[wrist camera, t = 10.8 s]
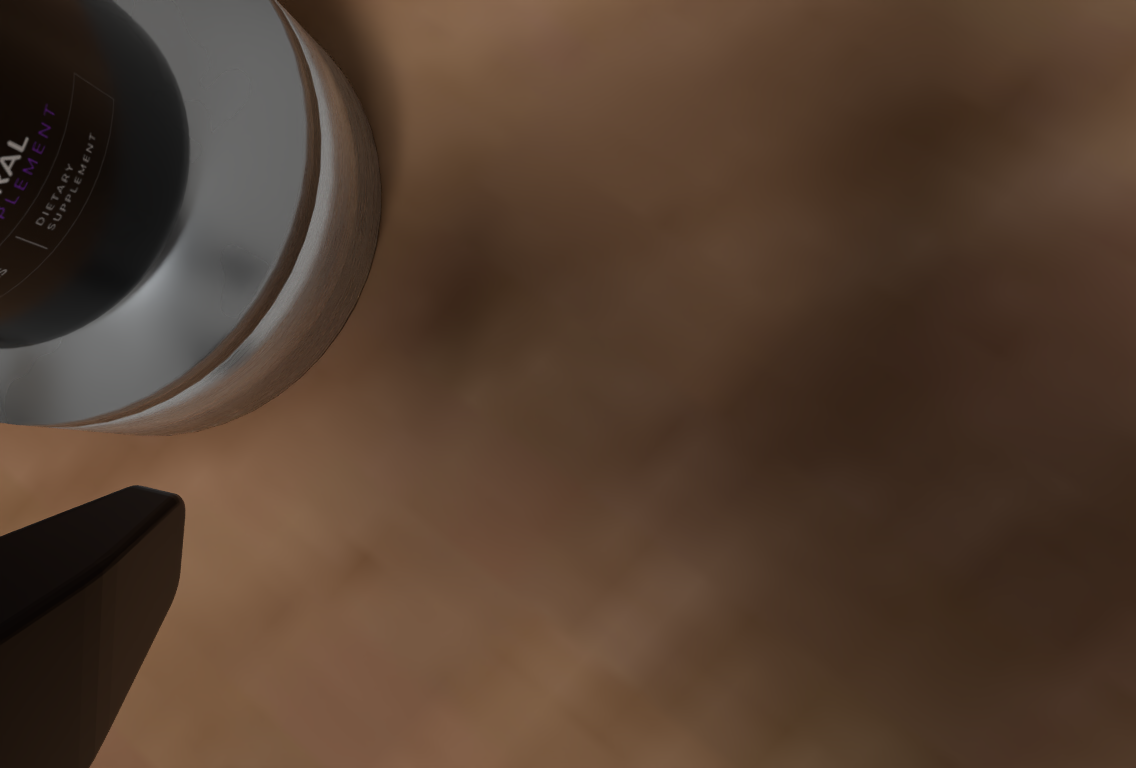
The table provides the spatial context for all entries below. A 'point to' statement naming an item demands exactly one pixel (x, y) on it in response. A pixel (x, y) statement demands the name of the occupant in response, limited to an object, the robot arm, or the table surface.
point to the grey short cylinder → (226, 238)
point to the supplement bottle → (82, 163)
